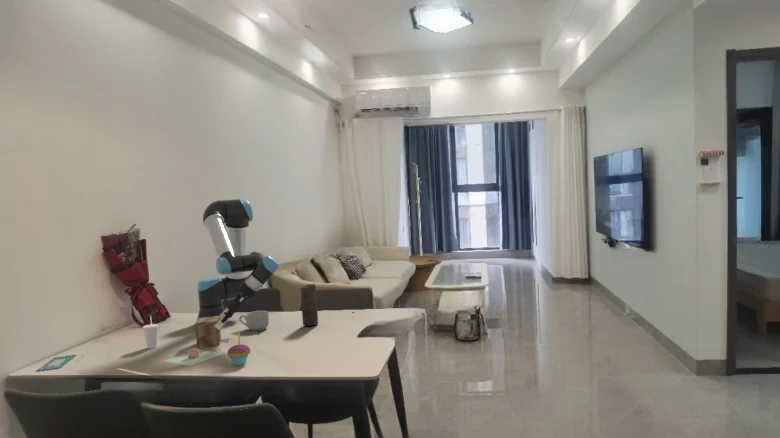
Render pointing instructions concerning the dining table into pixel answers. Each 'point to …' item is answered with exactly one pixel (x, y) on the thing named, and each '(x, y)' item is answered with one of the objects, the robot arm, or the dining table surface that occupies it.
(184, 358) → the green board
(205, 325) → the walnut cover
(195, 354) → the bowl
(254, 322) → the teacup
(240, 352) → the cupcake
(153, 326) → the smoothie
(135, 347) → the dining table surface
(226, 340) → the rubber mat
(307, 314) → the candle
